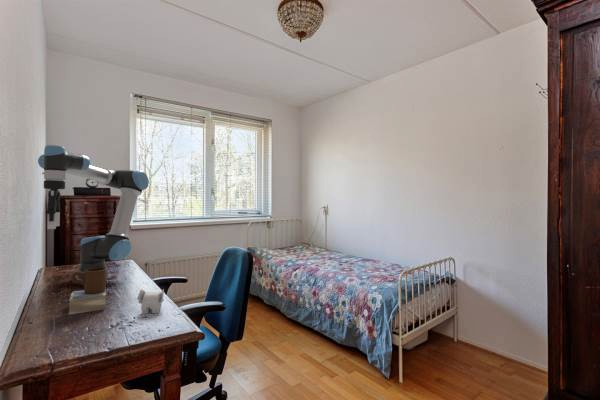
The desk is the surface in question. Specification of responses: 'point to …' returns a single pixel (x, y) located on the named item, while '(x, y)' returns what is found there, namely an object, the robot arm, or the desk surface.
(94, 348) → the desk surface
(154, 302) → the elephant figurine
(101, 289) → the mug
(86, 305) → the plinth
